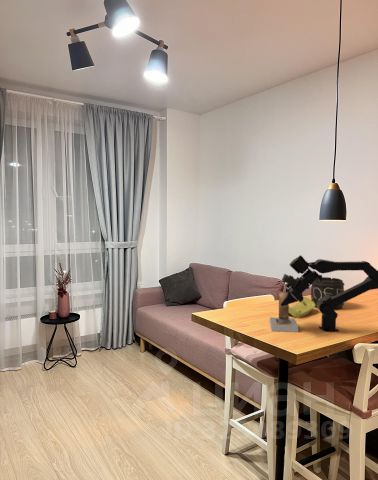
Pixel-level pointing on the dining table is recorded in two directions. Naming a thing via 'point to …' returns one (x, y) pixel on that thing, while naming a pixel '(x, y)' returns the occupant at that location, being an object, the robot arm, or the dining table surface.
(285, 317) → the walnut peg
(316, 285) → the patterned black pot
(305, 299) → the plastic component
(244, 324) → the dining table surface
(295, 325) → the hole plate
